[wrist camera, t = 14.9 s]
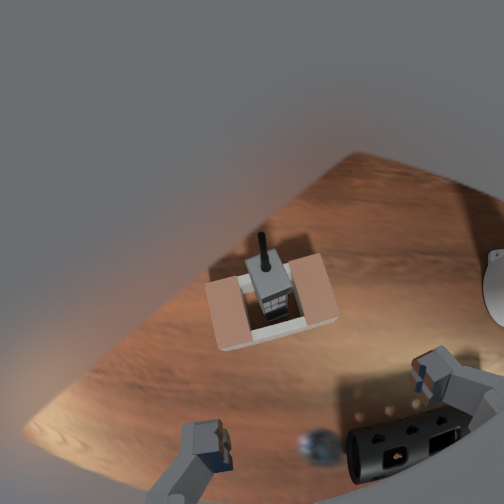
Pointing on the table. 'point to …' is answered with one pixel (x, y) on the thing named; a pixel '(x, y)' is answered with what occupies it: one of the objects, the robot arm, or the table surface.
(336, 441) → the table surface
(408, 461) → the muzzle brake
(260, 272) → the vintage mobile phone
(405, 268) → the table surface
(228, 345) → the tan rectangular frame
